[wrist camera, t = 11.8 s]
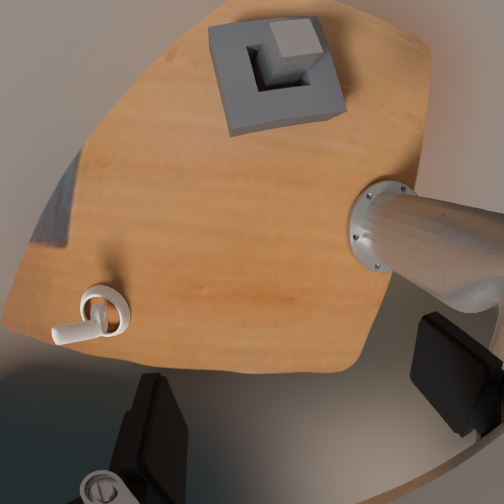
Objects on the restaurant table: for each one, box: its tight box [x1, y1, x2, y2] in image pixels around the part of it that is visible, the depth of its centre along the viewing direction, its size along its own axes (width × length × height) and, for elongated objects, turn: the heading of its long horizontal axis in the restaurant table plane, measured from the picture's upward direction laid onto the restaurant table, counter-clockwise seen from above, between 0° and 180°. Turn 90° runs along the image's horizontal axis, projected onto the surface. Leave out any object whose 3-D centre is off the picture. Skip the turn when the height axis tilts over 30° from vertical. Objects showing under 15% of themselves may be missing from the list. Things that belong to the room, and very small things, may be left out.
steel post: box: [253, 19, 323, 92], centre depth 24 cm, size 4×4×13 cm
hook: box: [52, 285, 130, 345], centre depth 32 cm, size 8×12×7 cm
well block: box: [208, 17, 347, 137], centre depth 27 cm, size 12×12×6 cm
